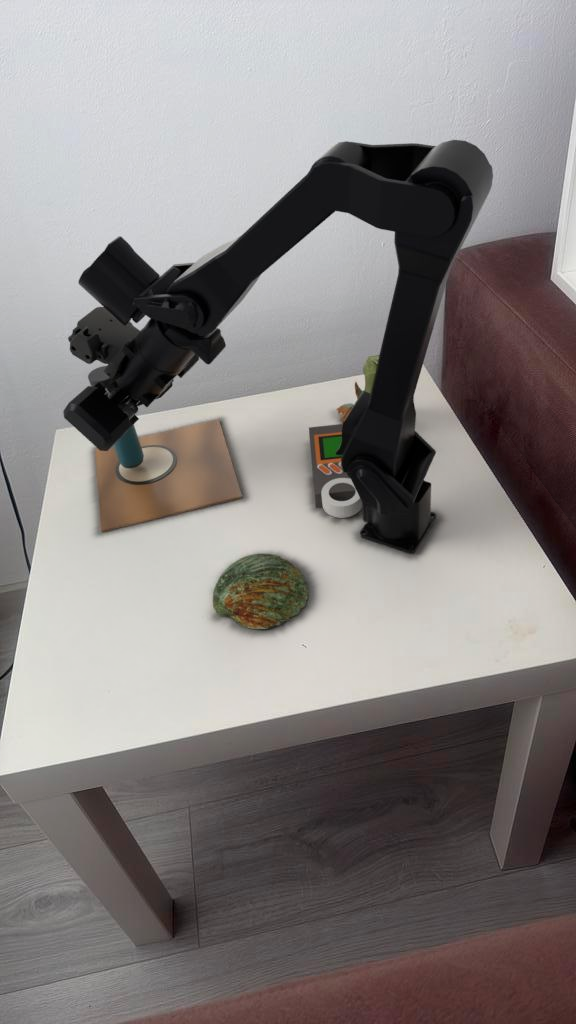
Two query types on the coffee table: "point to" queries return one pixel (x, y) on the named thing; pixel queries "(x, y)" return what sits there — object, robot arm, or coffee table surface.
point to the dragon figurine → (347, 407)
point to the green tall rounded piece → (370, 371)
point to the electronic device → (331, 473)
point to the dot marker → (129, 442)
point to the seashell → (260, 591)
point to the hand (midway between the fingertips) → (109, 417)
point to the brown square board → (166, 476)
